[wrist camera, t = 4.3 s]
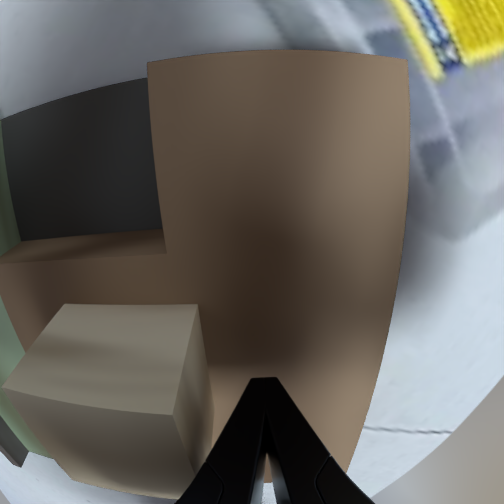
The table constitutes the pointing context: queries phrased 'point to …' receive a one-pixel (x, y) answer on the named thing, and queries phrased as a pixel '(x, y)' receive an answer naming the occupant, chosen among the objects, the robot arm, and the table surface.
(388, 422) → the table surface
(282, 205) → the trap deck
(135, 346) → the maple block
